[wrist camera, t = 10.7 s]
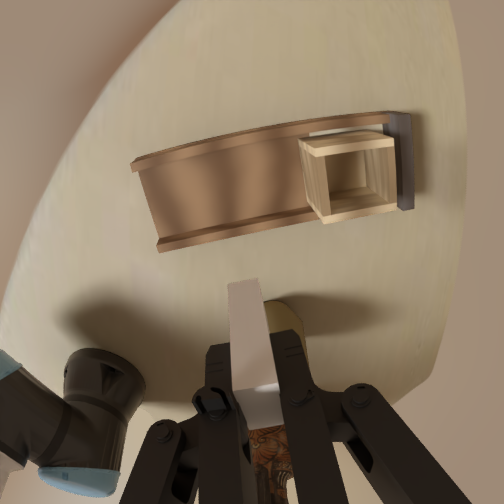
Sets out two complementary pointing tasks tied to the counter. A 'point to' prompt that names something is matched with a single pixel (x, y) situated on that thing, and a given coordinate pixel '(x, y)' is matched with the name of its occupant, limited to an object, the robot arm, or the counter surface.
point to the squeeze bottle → (284, 320)
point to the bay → (252, 178)
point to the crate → (349, 174)
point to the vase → (271, 464)
